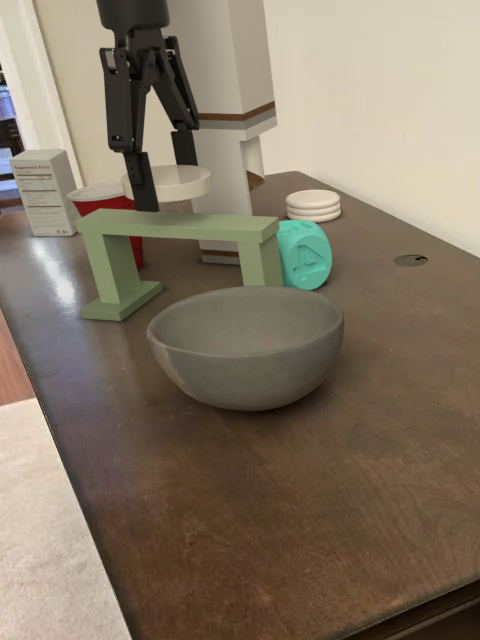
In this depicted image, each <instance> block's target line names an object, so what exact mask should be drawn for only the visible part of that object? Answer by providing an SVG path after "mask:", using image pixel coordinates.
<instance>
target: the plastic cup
mask: <svg viewBox="0 0 480 640" xmlns="http://www.w3.org/2000/svg"><path fill="white" fill-rule="evenodd" d="M67 197H68V199H70V200H71V201H72V202H73V204H74V205H75V207H76V208H77V210H78V212H79V214H80V215H81V217H84V216H86V215H88V214H90V213H92V212H94V211H96V210H98V209H121V210H136V206H135V202H134V200H132V199H129V198H127V197H126V196H125V195H124V191H123V187H122V183H121V180H115V181H107V182H101V183H96V184H92V185H88V186H83V187H81V188H77V190H75V191H72V192H70V193H69V194H68V195H67ZM129 239H130V243H131V247H132V251H133V255H134V259H135V263H136V267H137V271H138V270H140V269H142V268H143V267H144V262H145V257H144V246H143V245H144V239H143V236H129Z"/></svg>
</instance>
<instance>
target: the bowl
mask: <svg viewBox="0 0 480 640" xmlns="http://www.w3.org/2000/svg"><path fill="white" fill-rule="evenodd" d="M344 333H345V315H344V310H343V308H342V306H341V305H340V304H339V302H337V301H336V300H334V299H333V298H332V297H330V296H327V295H325V294H323V293H320V292H316V291H313V290H311V291H308V290H303V289H297V288H290V287H282V286H267V285H255V286H244V285H241V286H232V287H231V286H230V287H225V288H218V289H215V290H209V291H205V292H202V293H197V294H195V295H192V296H189V297H186V298H182V299H180V300H178V301H176V302H174V303H172V304H171V305H169V306H167V307H166V308H165V309H163V310H162V311H160V312H159V313H158V314H157V315H155V316H154V317H153V318H152V319H151V320H150V322H149V323H148V326H147V328H146V339H147V343H148V346H149V349H150V351H151V353H152V356H153V358H154V360H155V361H156V362H157V364H158V365H159V367H160V368H161V370H162V371H163V372H164V374H165V375H166V376H167V377H168V378H169V379H170V380H171V381H172V383H174V384H175V385H176V386H177V387H178V388H179V389H180V390H181V391H183V393H184V394H185V395H187V396H189V397H191V398H192V399H194V400H196V401H198V402H200V403H203V404H206V405H209V406H211V407H214V408H218V409H224V410H229V411H230V410H231V411H240V412H259V411H260V412H261V411H267V410H273V409H279V408H282V407H284V406H285V407H286V406H288V405H290V404H293V403H295V402H297V401H299V400H301V399H303V398H304V397H306V396H307V395H309V394H311V392H313V391H314V390H315V389H317V388H318V387H319V386H320V385H321V384H322V383H323V382H324V380H325V379H327V378H328V376H329V374H330V373H331V371H332V369H334V366H335V364H336V361H337V359H338V357H339V354H340V352H341V349H342V346H343V341H344Z"/></svg>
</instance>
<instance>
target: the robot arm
mask: <svg viewBox="0 0 480 640" xmlns="http://www.w3.org/2000/svg"><path fill="white" fill-rule="evenodd" d="M95 2H96V7H97V13H98V15H99V19H100V20H99V21H100V25H101V26H102V27H103V29H106V30H109V31H110V30H111V32H112V33H113V36H114V37H113V39H114V47H100V48H99V50H98V54H99V59H100V64H101V68H102V72H103V85H104V103H105V117H106V118H105V119H106V134H107V135H106V138H107V146H108V148H109V150H110V151H113V153H116V154H122V156H123V159H124V163H125V169H126V173H128V178H129V181H130V184H131V189H132V193H133V198H134V202H135V206H136V211H142V212H158V211H161V210H160V205H159V202H158V200H157V195H156V191H155V186H154V181H153V176H152V171H151V167H152V166H151V162H150V157H149V153H148V151H143V148H144V147H143V145H144V133H145V119H146V104H147V96H148V94H149V93H151V90H152V89H153V91H154V93H155V94H156V96H157V98H158V101H159V102H160V104H161V106H162V108H163V110H164V112H165V114H166V116H167V118H168V120H169V122H170V124H171V125H172V127H173V129H174V130H172V131H170V137H171V143H172V148H173V153H174V154H173V155H174V159H175V165H192V166H198V162H197V156H196V150H195V144H194V138H193V133H192V130H199V128H200V124H199V119H200V117H199V113H198V110H197V107H196V103H195V100H194V97H193V94H192V91H191V88H190V85H189V82H188V78H187V75H186V72H185V69H184V66H183V63H182V60H181V56H180V50H179V44H178V39H177V37H176V36H162V33H161V29H160V28H165V27H167V26H169V24H170V16H169V11H168V5H167V0H95ZM170 58H171V59H170ZM188 109H189V110H190V111H188Z"/></svg>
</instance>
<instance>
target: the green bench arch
mask: <svg viewBox="0 0 480 640" xmlns="http://www.w3.org/2000/svg"><path fill="white" fill-rule="evenodd" d="M279 222H280V221H279V217H278V216H265V215H263V216H261V215H260V216H259V215H253V216H244V215H224V214H203V213H194V212H181V211H161V210H160V211H158V212H142V211H136V210H121V209H98V210H96V211H94V212H92V213H90V214H88V215H86V216H84V217H82V218H80V219H78V220H76V221H75V223H76V227H77V230H78V231H77V233H78V234H81V236H82V239H83V243H84V247H85V250H86V253H87V258H88V261H89V263H90V267H91V271H92V274H93V278H94V282H95V285H96V289H97V292H98V295H99V296H98V297H96V298H95V299H93V300H91V302H89V303H88V304H85V306H84V307H82V308H80V309H79V313H80V316H81V318H82V319H88V320H89V319H90V320H101V321H113V322H122V321H123V320H125V319H126V318H128V317H129V316H130V315H131V314H133V313H134V312H136V311H137V310H138V309H140V308H141V307H143V306H144V304H146V303H147V302H149V301H150V300H152V299H153V298H154V297H156V296H157V295H158V294H159V293H161V292H162V291H163V290H164V289H163V284H162V281H155V280H154V281H153V280H140V279H141V278H140V276H139V272H138V270H137V267H136V263H135V259H134V255H133V251H132V247H131V243H130V239H129V236H142V237H145V238H161V239H162V238H163V239H182V240H195V241H196V240H197V241H199V240H214V241H232V242H237V245H238V252H239V258H240V265H239V266H240V270H241V277H242V282H243V286H255V285H267V286H282V287H283V280H282V272H281V264H280V256H279V248H278V240H277V231H278V230H279V229H280V227H279Z"/></svg>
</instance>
